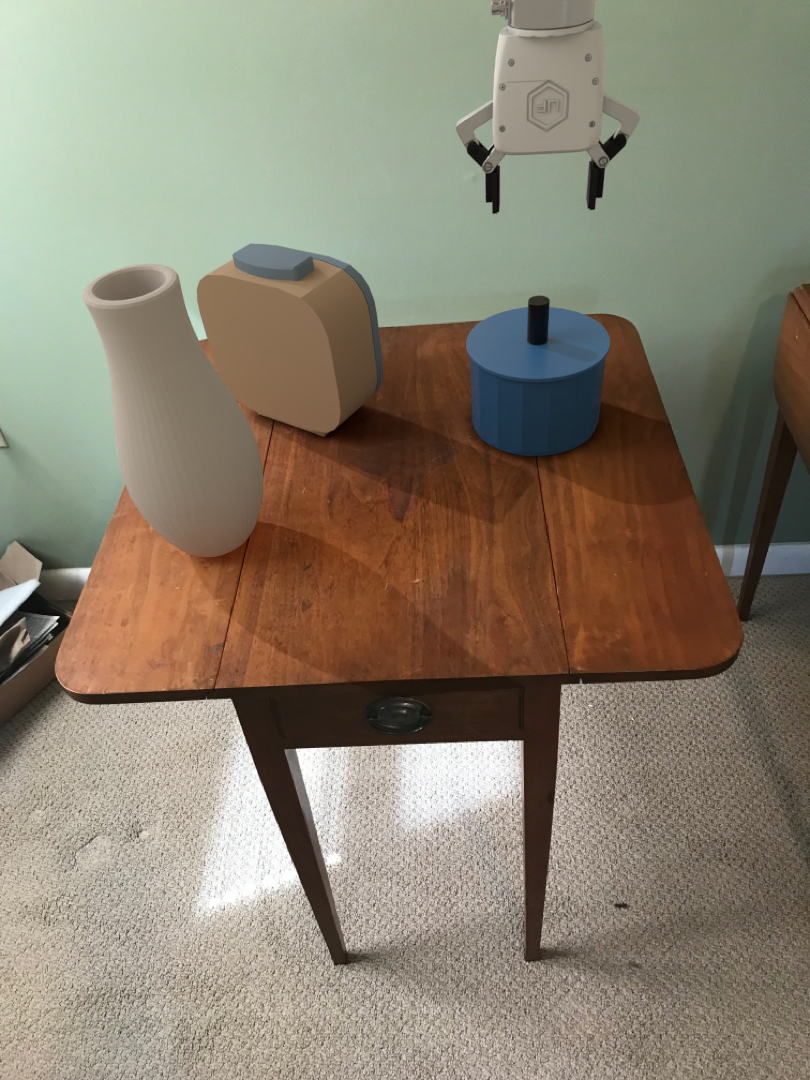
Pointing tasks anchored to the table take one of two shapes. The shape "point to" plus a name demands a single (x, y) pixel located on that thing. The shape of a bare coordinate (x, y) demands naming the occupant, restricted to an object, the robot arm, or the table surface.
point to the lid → (538, 343)
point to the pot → (536, 411)
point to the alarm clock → (293, 335)
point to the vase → (174, 415)
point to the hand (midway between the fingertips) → (542, 206)
